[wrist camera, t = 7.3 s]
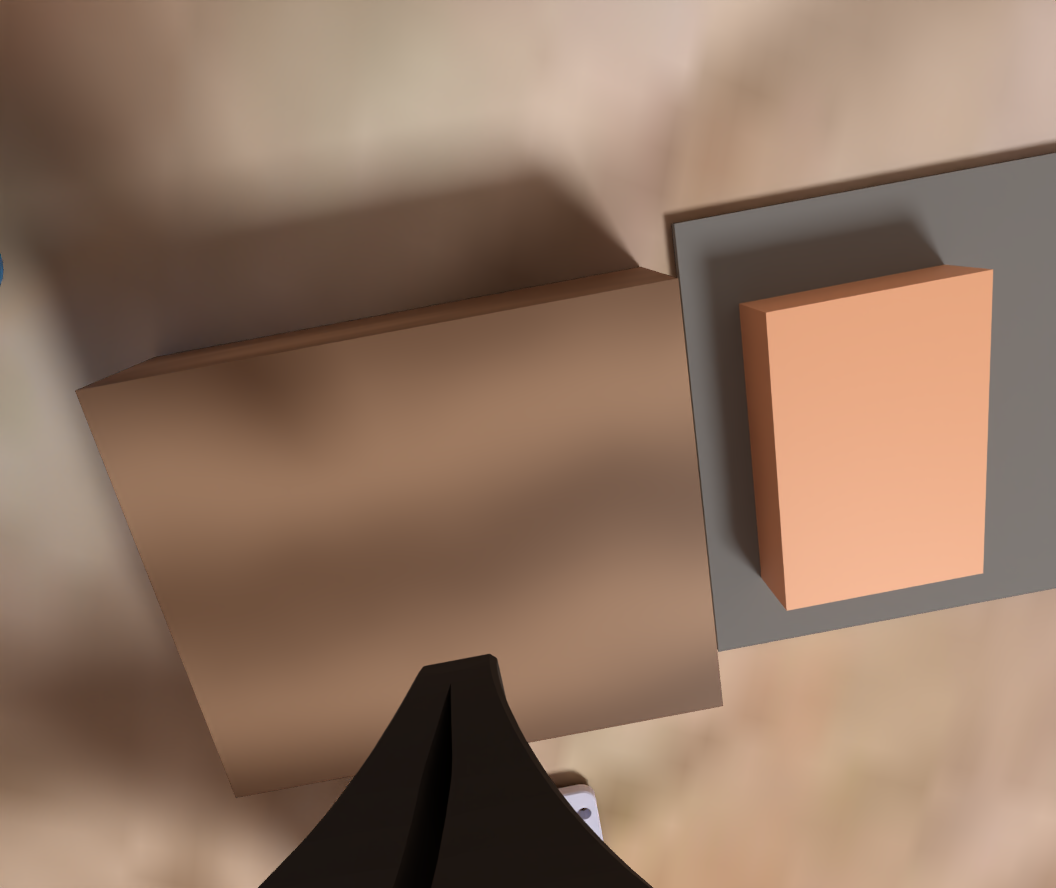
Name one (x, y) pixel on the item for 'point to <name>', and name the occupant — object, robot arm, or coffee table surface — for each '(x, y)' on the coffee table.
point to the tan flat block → (423, 518)
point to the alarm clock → (1, 269)
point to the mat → (853, 255)
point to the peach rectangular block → (869, 432)
